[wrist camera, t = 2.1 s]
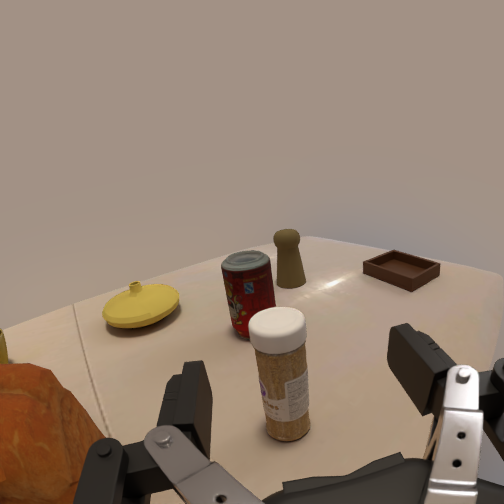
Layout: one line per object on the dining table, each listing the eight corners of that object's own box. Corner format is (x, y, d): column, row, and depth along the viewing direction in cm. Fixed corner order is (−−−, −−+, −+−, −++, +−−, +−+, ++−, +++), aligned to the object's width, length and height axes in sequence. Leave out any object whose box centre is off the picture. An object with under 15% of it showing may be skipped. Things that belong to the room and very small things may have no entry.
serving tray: (439, 275, 54) (440, 263, 53) (411, 292, 50) (412, 278, 50) (393, 260, 66) (393, 249, 65) (363, 273, 62) (362, 261, 61)
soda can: (225, 330, 49) (211, 258, 45) (260, 314, 52) (251, 245, 49) (250, 348, 43) (236, 268, 39) (287, 328, 47) (279, 253, 43)
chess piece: (282, 275, 67) (276, 226, 64) (309, 276, 65) (304, 225, 62) (272, 287, 62) (265, 234, 59) (301, 289, 60) (296, 234, 56)
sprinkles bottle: (258, 425, 29) (236, 318, 25) (293, 405, 31) (281, 299, 27) (284, 450, 25) (269, 341, 21) (320, 427, 27) (317, 316, 23)
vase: (163, 339, 48) (151, 301, 46) (92, 335, 51) (79, 302, 49) (193, 297, 63) (186, 265, 60) (130, 299, 66) (122, 270, 64)
